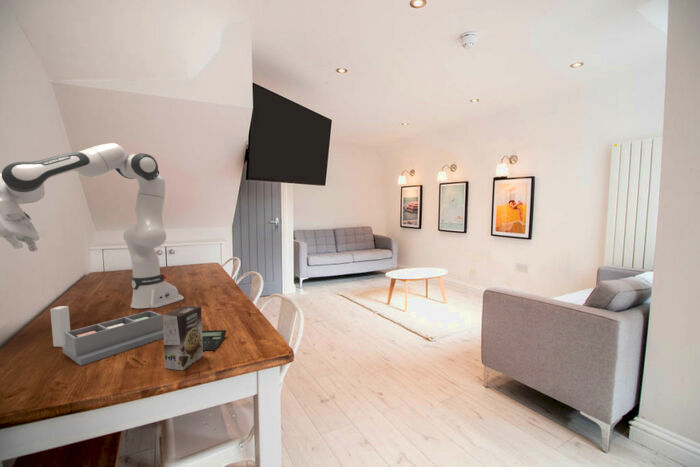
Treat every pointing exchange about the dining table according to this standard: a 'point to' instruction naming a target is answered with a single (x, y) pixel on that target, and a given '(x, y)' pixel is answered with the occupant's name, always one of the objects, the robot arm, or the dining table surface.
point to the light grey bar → (60, 324)
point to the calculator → (212, 339)
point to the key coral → (85, 334)
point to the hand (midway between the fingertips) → (27, 249)
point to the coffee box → (182, 337)
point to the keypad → (112, 337)
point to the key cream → (115, 326)
